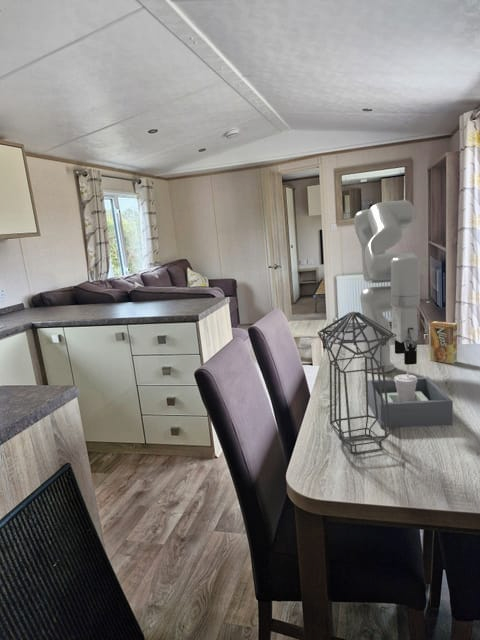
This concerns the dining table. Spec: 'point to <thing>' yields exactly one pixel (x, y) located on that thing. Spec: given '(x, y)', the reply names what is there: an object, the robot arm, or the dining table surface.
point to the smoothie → (405, 386)
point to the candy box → (443, 342)
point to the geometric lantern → (344, 322)
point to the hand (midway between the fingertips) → (405, 358)
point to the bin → (412, 405)
